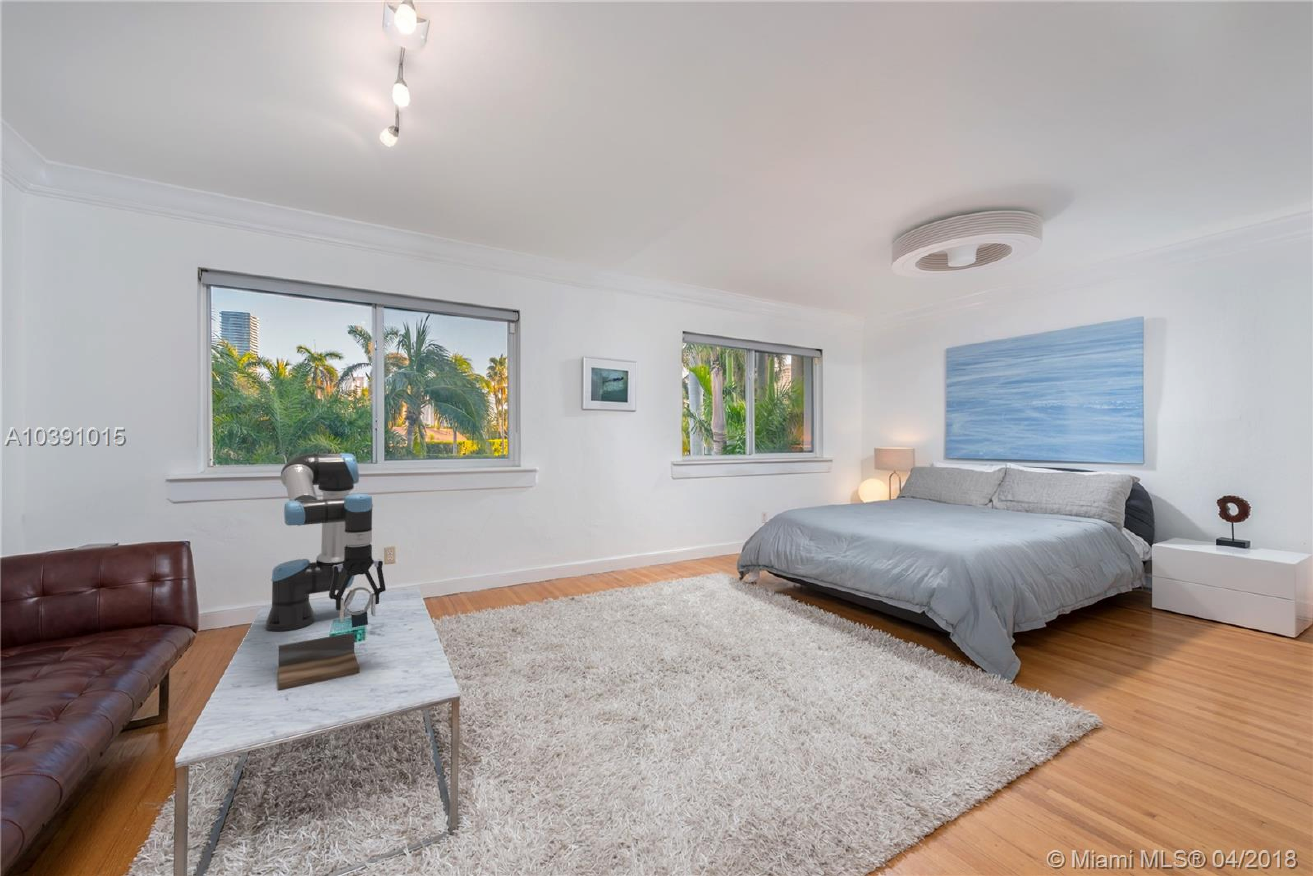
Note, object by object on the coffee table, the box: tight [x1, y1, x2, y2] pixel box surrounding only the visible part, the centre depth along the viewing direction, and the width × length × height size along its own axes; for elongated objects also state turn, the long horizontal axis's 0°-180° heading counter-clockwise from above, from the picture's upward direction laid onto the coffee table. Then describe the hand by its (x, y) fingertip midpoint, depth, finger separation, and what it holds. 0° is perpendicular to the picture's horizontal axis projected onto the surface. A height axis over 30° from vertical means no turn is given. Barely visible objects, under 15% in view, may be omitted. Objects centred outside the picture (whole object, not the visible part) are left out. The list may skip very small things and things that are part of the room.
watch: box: [344, 586, 372, 628], centre depth 170 cm, size 6×8×11 cm
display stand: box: [277, 632, 360, 691], centre depth 165 cm, size 14×20×8 cm
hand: (357, 617), depth 170 cm, fingers closed on watch, 8 cm apart
